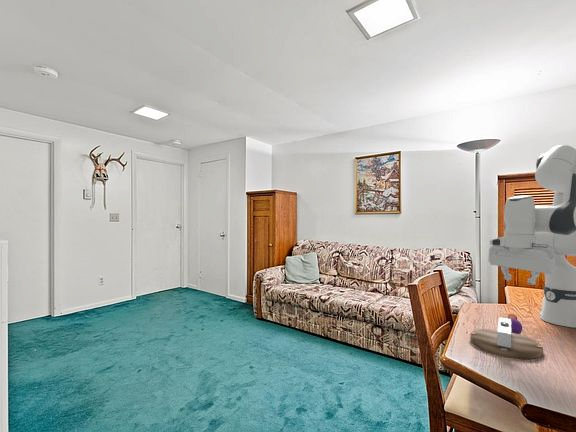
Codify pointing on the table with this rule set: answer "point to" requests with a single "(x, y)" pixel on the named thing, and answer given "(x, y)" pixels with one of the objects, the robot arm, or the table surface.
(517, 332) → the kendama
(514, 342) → the lock plate
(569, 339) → the table surface
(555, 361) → the table surface
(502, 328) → the bar
